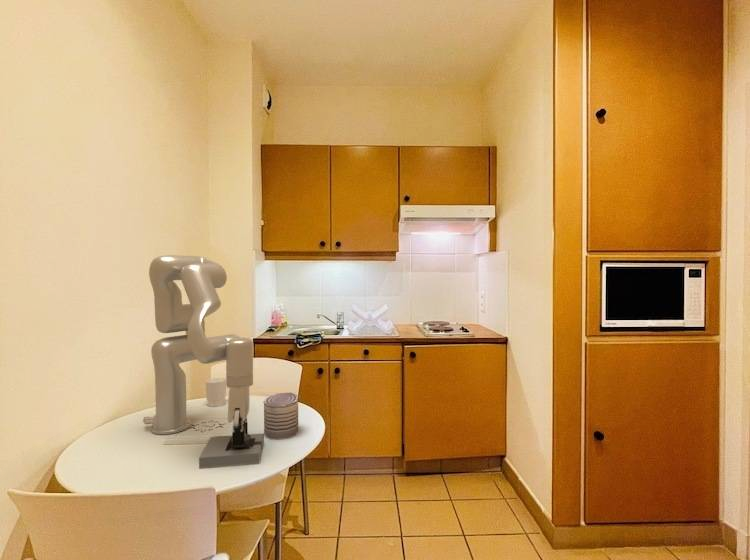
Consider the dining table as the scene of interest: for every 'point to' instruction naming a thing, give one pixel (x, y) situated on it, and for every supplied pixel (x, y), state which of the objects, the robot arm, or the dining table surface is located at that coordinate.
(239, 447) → the dark chess piece
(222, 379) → the white cup
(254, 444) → the plate
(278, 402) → the can
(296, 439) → the dining table surface
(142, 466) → the dining table surface
